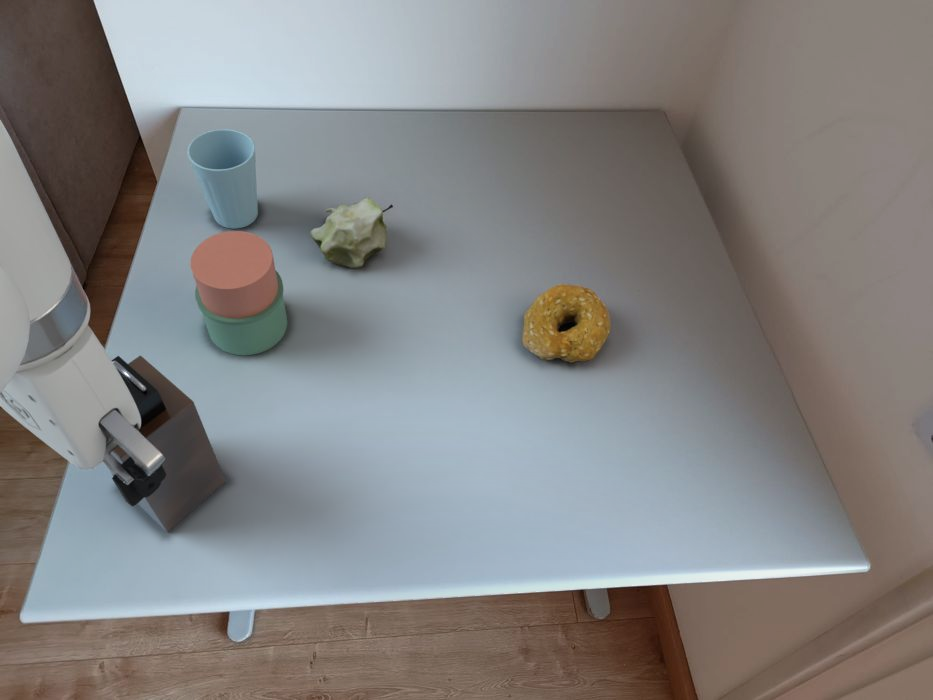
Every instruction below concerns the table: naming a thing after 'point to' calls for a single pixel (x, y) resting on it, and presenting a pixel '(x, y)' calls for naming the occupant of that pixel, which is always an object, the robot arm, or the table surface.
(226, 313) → the cup stack
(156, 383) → the clip stand
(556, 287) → the bagel
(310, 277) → the table surface
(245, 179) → the cup
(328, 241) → the fruit
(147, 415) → the clip
